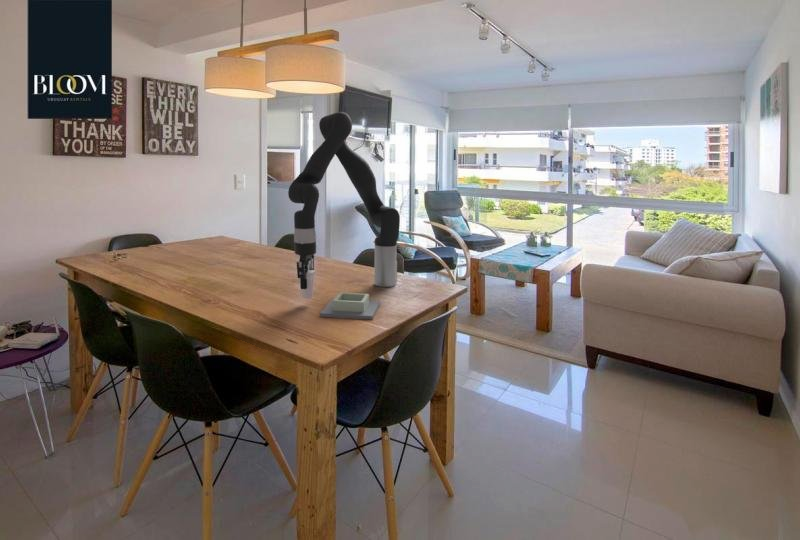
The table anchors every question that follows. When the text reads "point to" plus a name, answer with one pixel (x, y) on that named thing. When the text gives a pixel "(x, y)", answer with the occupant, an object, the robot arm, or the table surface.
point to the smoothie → (308, 285)
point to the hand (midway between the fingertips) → (306, 286)
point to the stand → (351, 306)
